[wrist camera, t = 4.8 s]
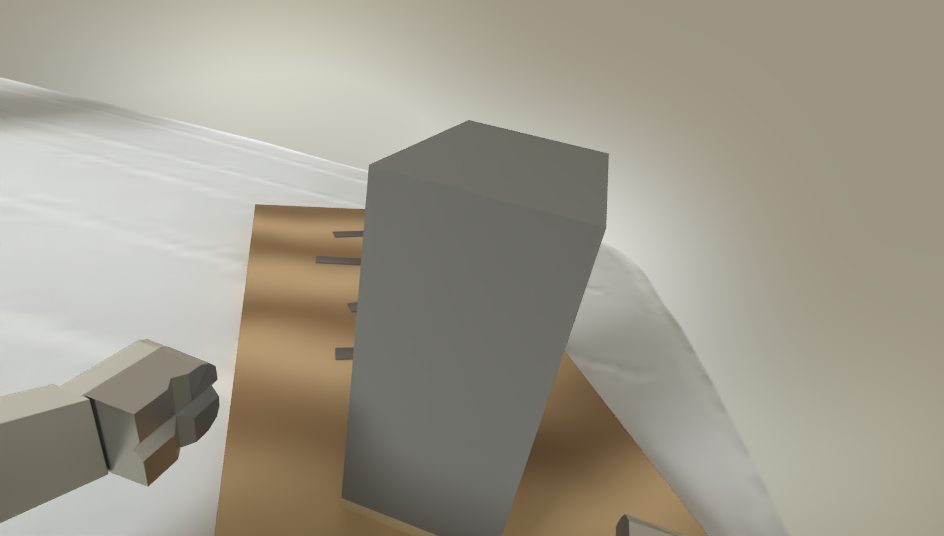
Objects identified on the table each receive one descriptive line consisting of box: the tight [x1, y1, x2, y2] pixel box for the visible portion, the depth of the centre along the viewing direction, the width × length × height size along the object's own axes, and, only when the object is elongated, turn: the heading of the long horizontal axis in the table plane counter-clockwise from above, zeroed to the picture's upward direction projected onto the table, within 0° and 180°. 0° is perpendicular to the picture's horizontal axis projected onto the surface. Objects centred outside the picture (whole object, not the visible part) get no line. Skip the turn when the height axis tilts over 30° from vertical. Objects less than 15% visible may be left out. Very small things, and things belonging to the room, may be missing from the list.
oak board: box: [215, 204, 708, 536], centre depth 23 cm, size 26×14×2 cm, turn 19°
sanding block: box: [341, 120, 609, 536], centre depth 14 cm, size 7×4×10 cm, turn 164°
